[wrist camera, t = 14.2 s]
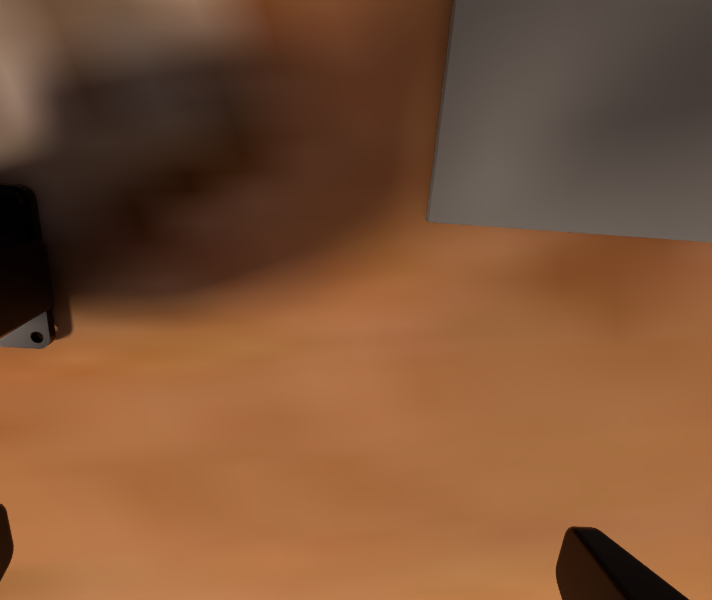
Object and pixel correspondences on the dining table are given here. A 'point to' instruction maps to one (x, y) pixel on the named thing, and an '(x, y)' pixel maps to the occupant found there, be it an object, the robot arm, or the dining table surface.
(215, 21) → the dining table surface
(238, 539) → the dining table surface
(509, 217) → the mat
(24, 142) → the dining table surface
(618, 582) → the robot arm
